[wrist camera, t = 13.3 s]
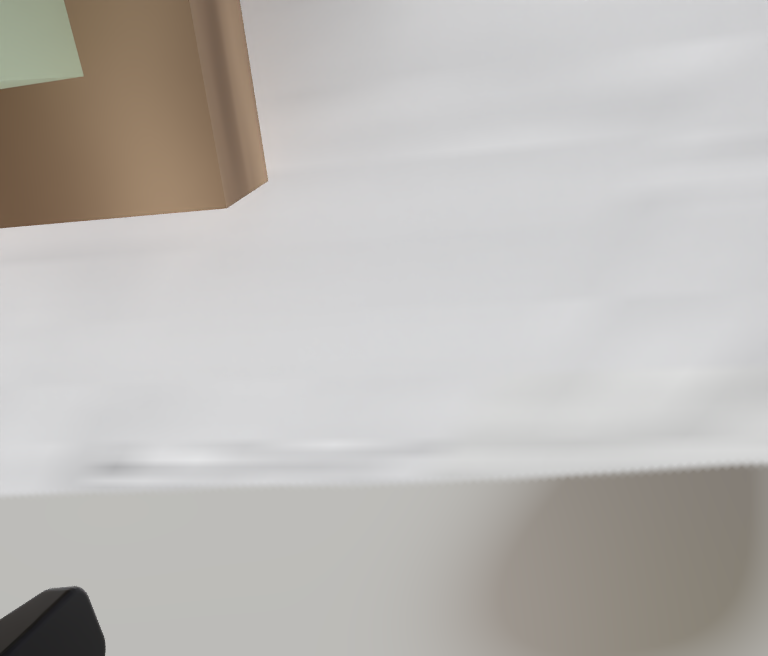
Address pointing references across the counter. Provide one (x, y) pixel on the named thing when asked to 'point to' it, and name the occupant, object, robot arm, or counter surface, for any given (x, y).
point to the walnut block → (135, 118)
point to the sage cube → (36, 43)
